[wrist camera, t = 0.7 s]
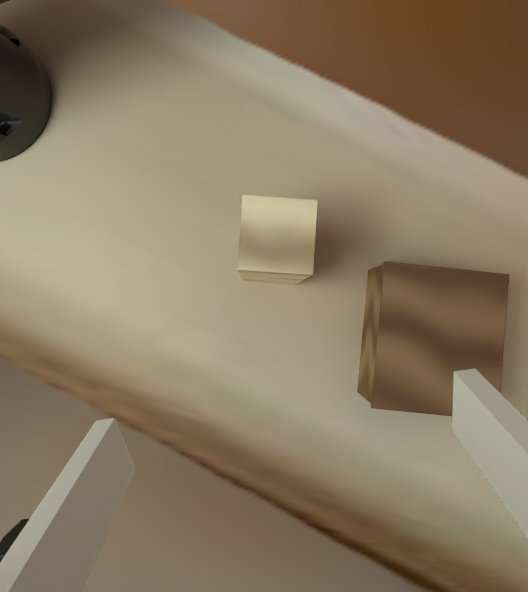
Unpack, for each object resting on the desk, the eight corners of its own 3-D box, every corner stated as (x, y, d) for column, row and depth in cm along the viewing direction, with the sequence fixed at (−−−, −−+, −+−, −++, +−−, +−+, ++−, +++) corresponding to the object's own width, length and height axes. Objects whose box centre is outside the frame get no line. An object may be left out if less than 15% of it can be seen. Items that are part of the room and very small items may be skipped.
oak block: (247, 229, 39) (242, 194, 27) (299, 232, 39) (317, 199, 27) (244, 281, 39) (237, 269, 27) (296, 284, 39) (313, 274, 27)
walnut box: (366, 268, 39) (385, 261, 33) (470, 279, 39) (509, 274, 33) (354, 392, 39) (372, 408, 33) (460, 402, 39) (497, 420, 33)
